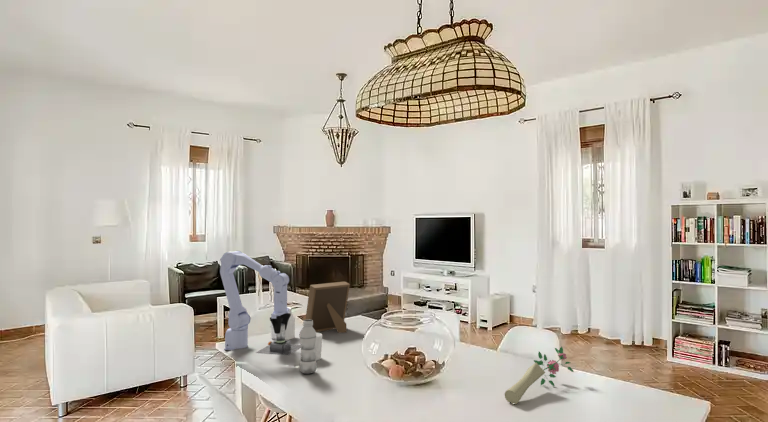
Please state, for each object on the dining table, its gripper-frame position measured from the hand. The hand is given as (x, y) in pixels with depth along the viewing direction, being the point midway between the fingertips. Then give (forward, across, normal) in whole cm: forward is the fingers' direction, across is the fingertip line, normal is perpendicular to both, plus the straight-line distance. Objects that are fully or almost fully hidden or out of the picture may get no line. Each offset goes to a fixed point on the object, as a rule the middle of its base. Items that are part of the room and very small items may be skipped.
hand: (280, 331), depth 215 cm
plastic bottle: (+9, -25, -23) cm, 35 cm away
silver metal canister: (+5, 0, 0) cm, 5 cm away
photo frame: (+9, +40, -9) cm, 42 cm away
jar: (+9, +20, +8) cm, 23 cm away
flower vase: (+9, -25, -107) cm, 110 cm away
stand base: (+9, 0, 0) cm, 9 cm away
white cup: (+9, -7, -18) cm, 21 cm away
